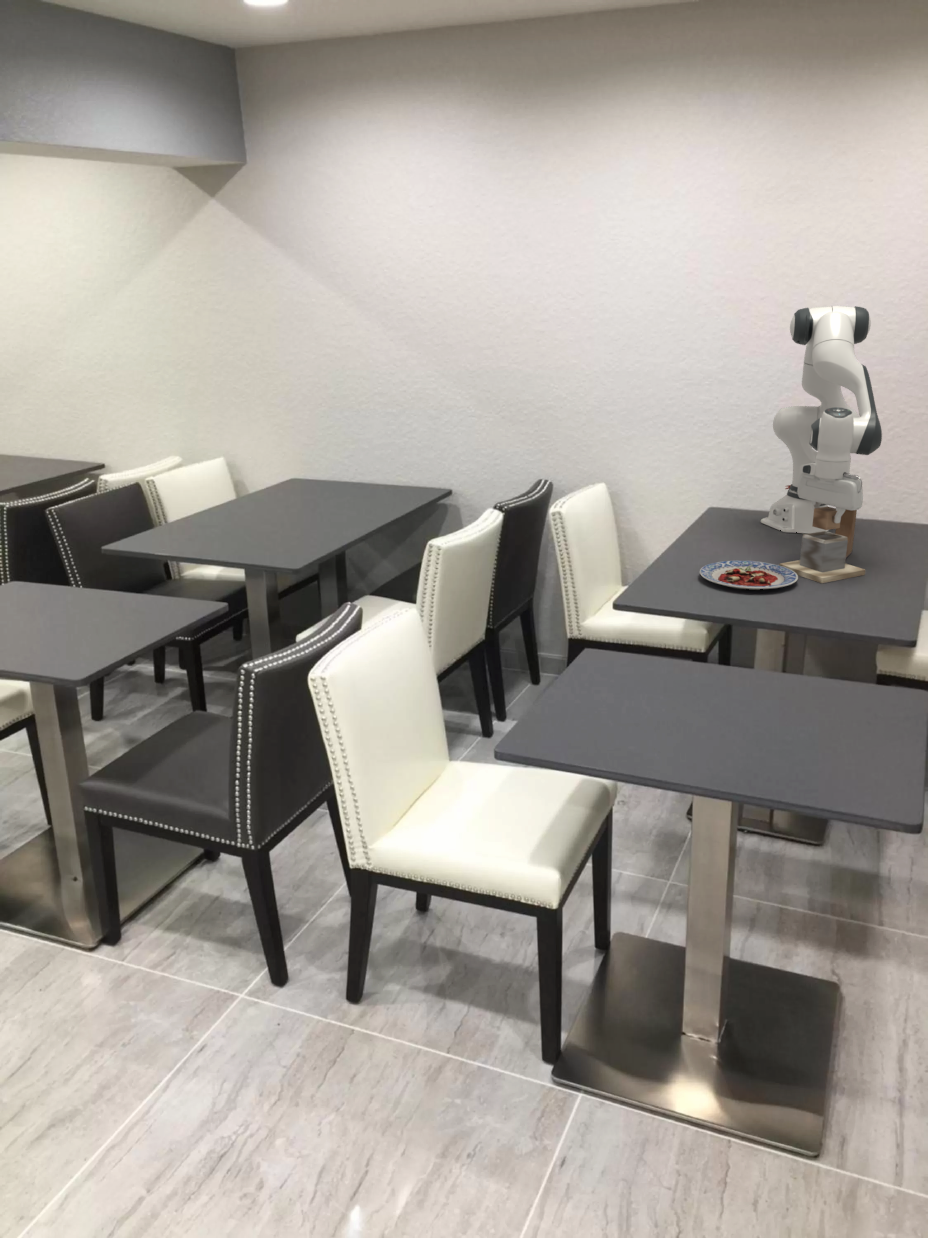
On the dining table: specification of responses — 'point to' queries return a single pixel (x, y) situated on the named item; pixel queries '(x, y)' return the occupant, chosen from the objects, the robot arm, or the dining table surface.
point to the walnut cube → (824, 518)
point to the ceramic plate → (748, 574)
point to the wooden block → (847, 528)
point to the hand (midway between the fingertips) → (826, 520)
